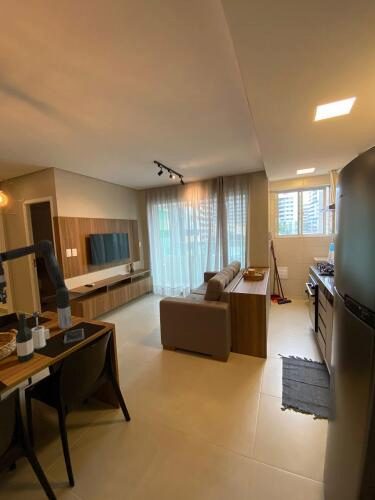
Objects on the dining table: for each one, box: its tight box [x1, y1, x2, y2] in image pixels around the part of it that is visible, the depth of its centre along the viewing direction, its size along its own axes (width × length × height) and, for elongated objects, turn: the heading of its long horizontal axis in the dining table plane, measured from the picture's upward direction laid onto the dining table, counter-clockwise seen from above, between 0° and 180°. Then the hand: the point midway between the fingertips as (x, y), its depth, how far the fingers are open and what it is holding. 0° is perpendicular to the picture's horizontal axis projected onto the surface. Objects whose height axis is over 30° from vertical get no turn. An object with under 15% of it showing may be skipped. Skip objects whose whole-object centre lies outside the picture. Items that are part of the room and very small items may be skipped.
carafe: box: [30, 325, 50, 350], centre depth 150 cm, size 10×8×13 cm
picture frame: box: [63, 327, 85, 345], centre depth 163 cm, size 13×2×18 cm
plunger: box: [32, 311, 42, 330], centre depth 149 cm, size 5×5×13 cm
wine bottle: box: [15, 312, 35, 363], centre depth 134 cm, size 8×8×30 cm
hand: (2, 302), depth 156 cm, fingers open, 8 cm apart
